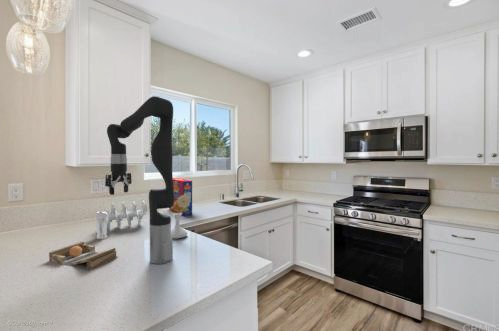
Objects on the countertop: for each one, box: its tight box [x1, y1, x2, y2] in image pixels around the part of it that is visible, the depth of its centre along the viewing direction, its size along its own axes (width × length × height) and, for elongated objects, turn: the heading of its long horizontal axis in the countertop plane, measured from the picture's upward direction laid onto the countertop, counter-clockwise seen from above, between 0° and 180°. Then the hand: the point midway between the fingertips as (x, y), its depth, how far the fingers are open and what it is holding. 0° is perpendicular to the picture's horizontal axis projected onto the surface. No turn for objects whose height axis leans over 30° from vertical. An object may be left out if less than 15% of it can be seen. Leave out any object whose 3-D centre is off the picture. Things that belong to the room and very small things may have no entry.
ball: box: [69, 246, 82, 257], centre depth 116 cm, size 5×5×5 cm
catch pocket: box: [48, 241, 96, 265], centre depth 116 cm, size 9×15×4 cm, turn 160°
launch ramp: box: [71, 247, 117, 270], centre depth 111 cm, size 14×12×6 cm
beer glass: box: [94, 210, 110, 240], centre depth 143 cm, size 7×7×15 cm
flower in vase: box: [171, 195, 190, 239], centre depth 146 cm, size 13×11×25 cm
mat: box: [62, 250, 119, 272], centre depth 114 cm, size 25×15×1 cm, turn 69°
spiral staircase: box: [108, 200, 148, 231], centre depth 163 cm, size 18×18×25 cm
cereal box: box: [168, 177, 193, 217], centre depth 208 cm, size 28×8×28 cm, turn 40°
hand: (119, 193), depth 130 cm, fingers open, 8 cm apart
